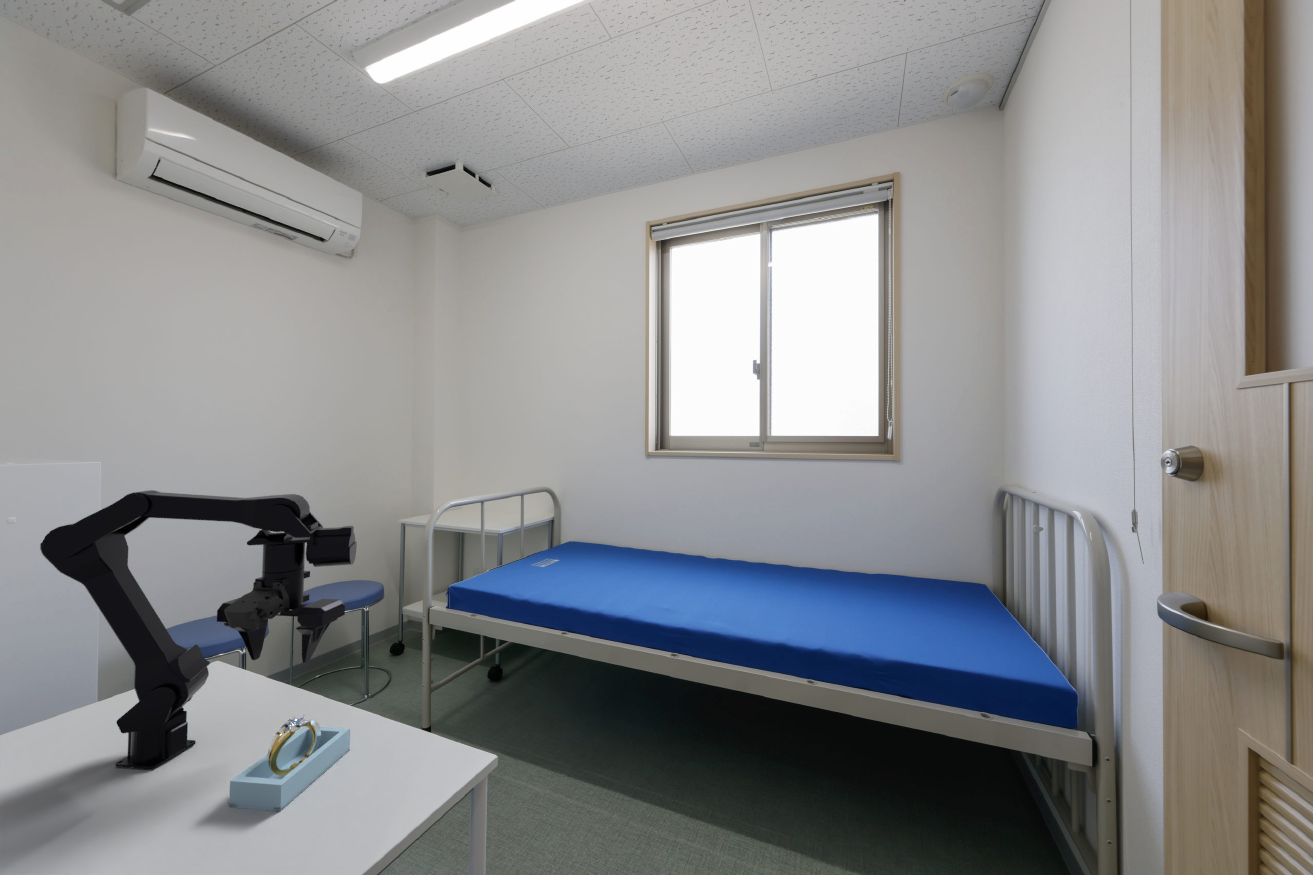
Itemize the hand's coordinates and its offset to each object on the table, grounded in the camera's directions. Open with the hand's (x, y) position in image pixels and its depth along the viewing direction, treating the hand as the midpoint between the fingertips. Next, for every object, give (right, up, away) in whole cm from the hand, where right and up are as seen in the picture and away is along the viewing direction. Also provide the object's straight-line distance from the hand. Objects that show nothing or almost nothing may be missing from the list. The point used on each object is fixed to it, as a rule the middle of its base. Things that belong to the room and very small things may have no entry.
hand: (280, 660), depth 81 cm
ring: (+10, -12, -10) cm, 19 cm away
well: (+10, -13, -10) cm, 19 cm away
